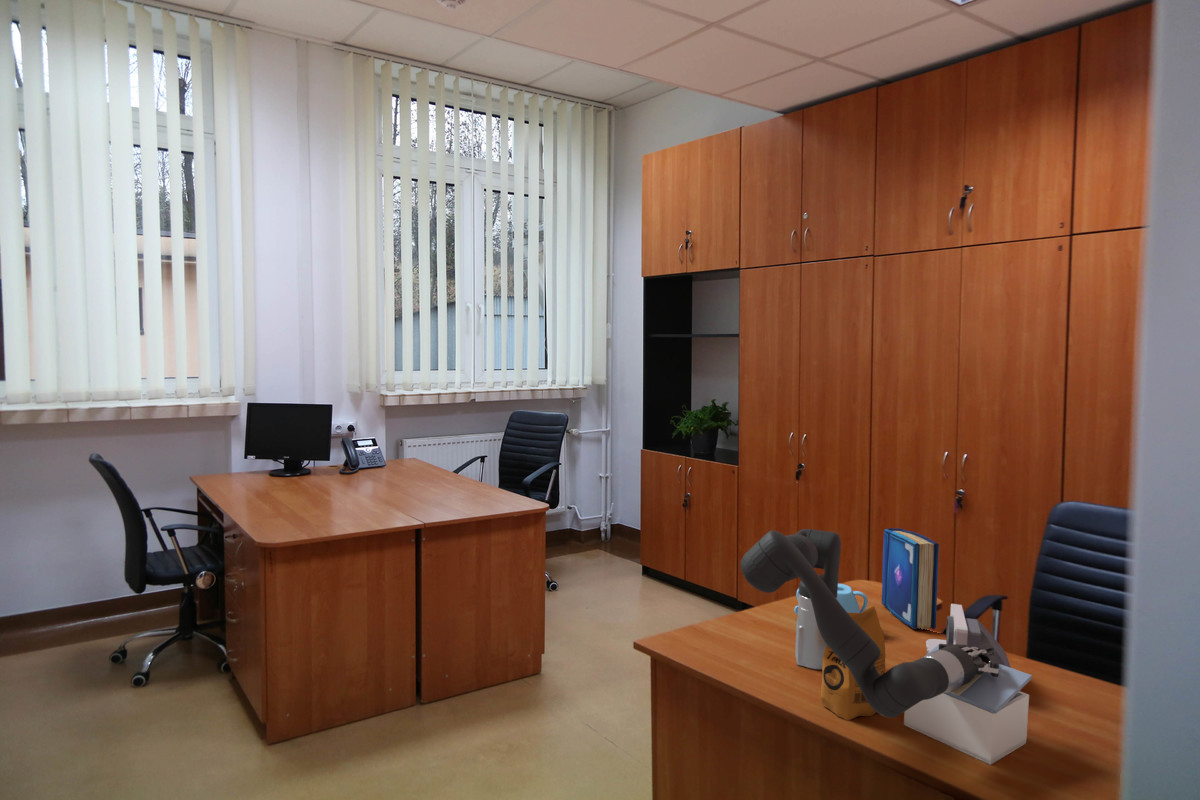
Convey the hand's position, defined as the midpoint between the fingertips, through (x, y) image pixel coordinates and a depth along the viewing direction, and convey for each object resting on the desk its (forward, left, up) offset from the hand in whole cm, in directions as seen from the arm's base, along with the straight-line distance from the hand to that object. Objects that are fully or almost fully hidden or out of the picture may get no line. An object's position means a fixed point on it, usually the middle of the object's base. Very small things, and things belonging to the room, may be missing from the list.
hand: (989, 650), depth 157 cm
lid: (-6, -6, -4) cm, 10 cm away
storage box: (-6, -6, -16) cm, 18 cm away
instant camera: (+3, +22, -16) cm, 28 cm away
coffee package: (-27, +1, -16) cm, 31 cm away
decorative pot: (-25, +49, -16) cm, 57 cm away
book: (-2, +62, -16) cm, 64 cm away
